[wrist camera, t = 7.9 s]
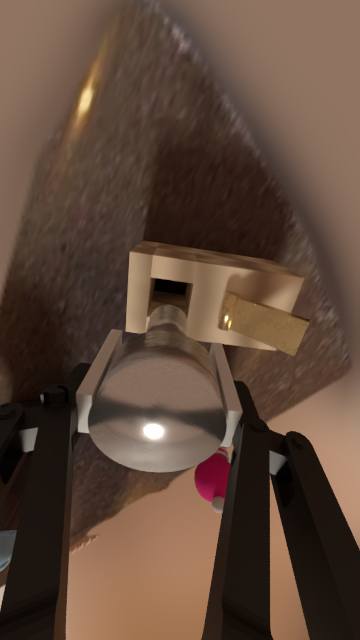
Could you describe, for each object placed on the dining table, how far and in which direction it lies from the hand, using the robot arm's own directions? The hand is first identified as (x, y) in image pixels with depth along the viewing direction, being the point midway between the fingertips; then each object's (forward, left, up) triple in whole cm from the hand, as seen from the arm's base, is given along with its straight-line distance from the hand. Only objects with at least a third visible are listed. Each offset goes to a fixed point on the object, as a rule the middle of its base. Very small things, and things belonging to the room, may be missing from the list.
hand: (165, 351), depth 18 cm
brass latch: (+10, 0, -9) cm, 14 cm away
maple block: (+5, 0, -21) cm, 22 cm away
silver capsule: (0, 0, -5) cm, 5 cm away
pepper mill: (+10, -24, -21) cm, 34 cm away
